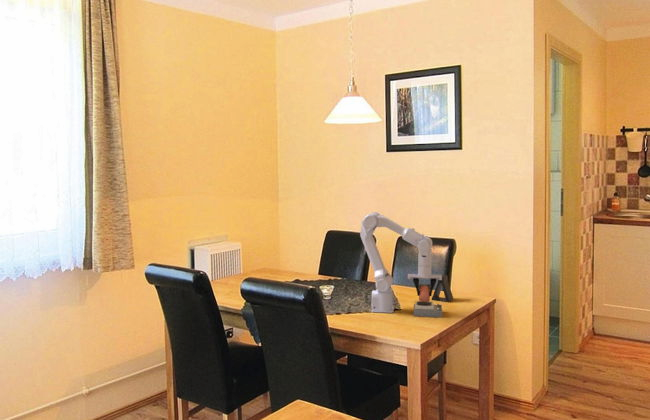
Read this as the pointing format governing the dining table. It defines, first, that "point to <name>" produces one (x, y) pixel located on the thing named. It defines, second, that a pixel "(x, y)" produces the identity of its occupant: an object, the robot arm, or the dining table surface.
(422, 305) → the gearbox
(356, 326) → the dining table surface
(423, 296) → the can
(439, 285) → the phone stand
